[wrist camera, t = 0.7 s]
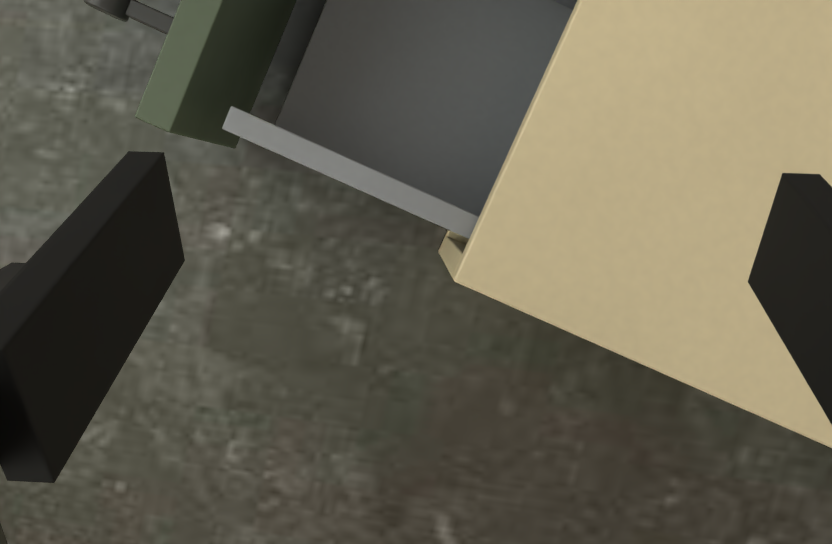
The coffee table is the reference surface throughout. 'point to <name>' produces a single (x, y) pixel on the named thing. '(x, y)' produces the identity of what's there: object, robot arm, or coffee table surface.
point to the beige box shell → (663, 189)
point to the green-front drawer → (362, 89)
